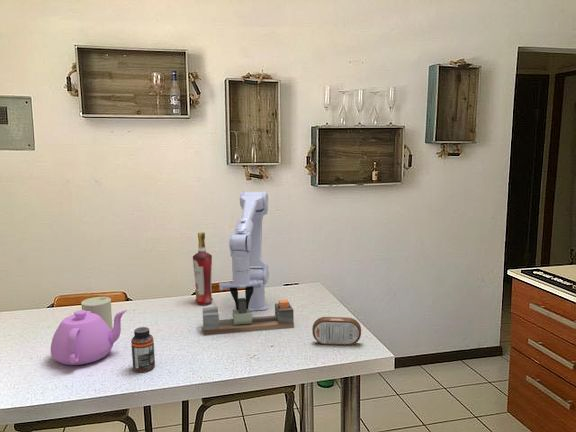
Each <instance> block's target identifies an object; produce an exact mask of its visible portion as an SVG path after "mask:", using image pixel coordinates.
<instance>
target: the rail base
mask: <svg viewBox="0 0 576 432" xmlns="http://www.w3.org/2000/svg"><path fill="white" fill-rule="evenodd" d="M294 315H295V314H294V308H293V307H292V305H291V303H289V308H286V309H279V302H276V303H274V315H266V316H264V315H263V316H255V317H254V316H252V323H248V324H236V325H234V319H233V318H229V319H219V317H220V316H219V310H218V306H206V307H202V326H203V327H202V328H203V329H202V330H203V336H210V335H211V336H212V335H222V334H233V333H246V332H256V331H257V332H259V331H267V330H268V331H269V330H279V329H291V328H292V329H293V328H295V322H294V321H295V320H294Z"/></svg>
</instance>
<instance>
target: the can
mask: <svg viewBox="0 0 576 432" xmlns="http://www.w3.org/2000/svg"><path fill="white" fill-rule="evenodd" d="M80 304H81V310H85V311H91V312H92V313H94V314H97V315H99V316H100V317H101V318H102V319H103V320H104V322H105V323H106V324H107V326H108V327H109V329H110V331H111V330H112V329H113V327H114V325H113V318H112V317H113V315H112V314H113V313H112V298H111V297H108V296H95V297H89V298H86V299H84V300H82V301H81V303H80Z"/></svg>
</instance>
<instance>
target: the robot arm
mask: <svg viewBox="0 0 576 432" xmlns="http://www.w3.org/2000/svg"><path fill="white" fill-rule="evenodd" d="M239 205H240V207H241V209H242V212H241V213H242V214H241V217H240V218H238V219H237V222H236V224H235V225H236V226H235V229H234V232H233V234H232V235H230V237H229V239H228V240H229V241H228V242H229V243H228V247H229V252H230V257H231V266H232V267H231V268H232V269H231V270H232V273H231V274H232V280H231V281H226V282H219V283H218V284H219V291H223V290H229V292H230V295H231V296H232V298H233V300H234V304H235V309H236V310H239V306H238V298H239V292H238V289H244V292H245V300H246V309H248V308H250V310H251V312H253V311H254V312H255V311H266V310H268V307H267V304H266V296H265V293H266V292H265V290H266V289H265V287H266V286H265V285H267V283H269V277H270V275H269V273H270V272H269V265H268V263H267V262H266V261H265V260H263V259H262V243H263V242H262V240H263V239H262V238H263V236H262V235H263V219H264V216H266V215H268V211H269V194H268V193H267V191H242V192H240V194H239Z"/></svg>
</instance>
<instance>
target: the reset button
mask: <svg viewBox="0 0 576 432" xmlns="http://www.w3.org/2000/svg"><path fill="white" fill-rule="evenodd" d="M278 303H279V309H286V308H289V304H290V301H289V300H288V299H279V300H278Z"/></svg>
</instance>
